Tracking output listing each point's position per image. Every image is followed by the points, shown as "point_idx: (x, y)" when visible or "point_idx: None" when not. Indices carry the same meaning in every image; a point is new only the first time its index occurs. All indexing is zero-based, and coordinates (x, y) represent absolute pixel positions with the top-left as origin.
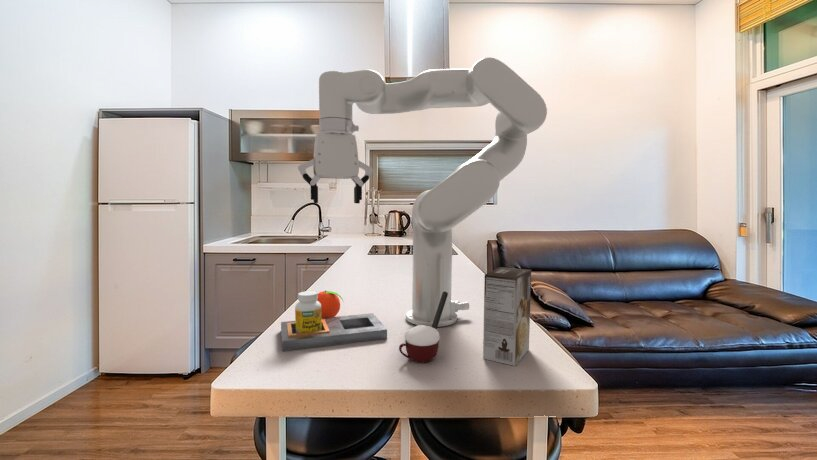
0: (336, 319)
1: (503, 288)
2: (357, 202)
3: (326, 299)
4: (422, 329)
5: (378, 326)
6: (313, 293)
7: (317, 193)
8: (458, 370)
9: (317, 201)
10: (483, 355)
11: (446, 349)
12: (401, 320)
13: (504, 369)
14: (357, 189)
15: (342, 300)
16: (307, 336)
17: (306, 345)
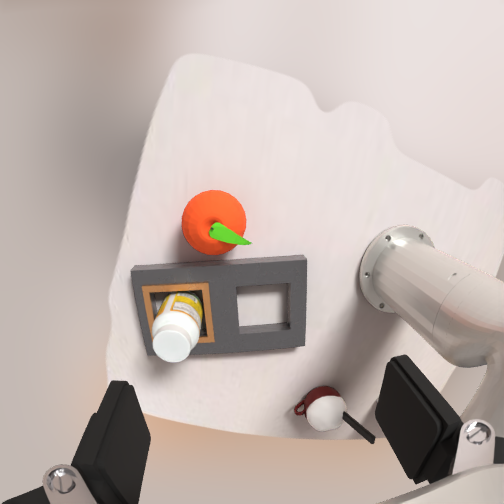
0: (230, 281)
1: None
2: (379, 415)
3: (212, 252)
4: (324, 430)
5: (296, 331)
6: (182, 352)
7: (140, 477)
8: None
9: (147, 441)
10: (377, 402)
11: (357, 378)
12: (352, 261)
13: None
14: (409, 468)
15: (250, 243)
16: None
17: None
